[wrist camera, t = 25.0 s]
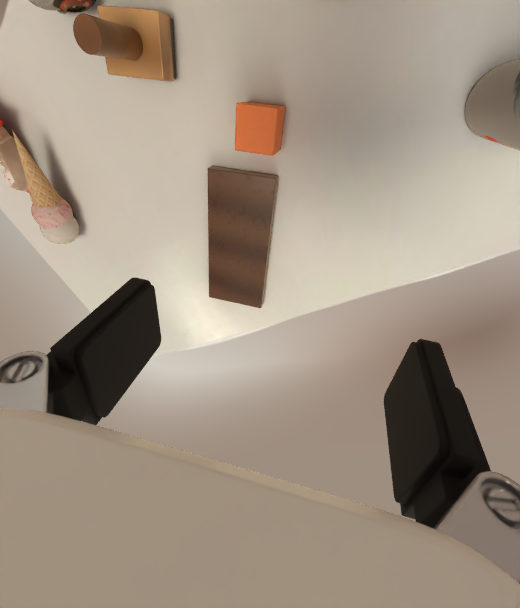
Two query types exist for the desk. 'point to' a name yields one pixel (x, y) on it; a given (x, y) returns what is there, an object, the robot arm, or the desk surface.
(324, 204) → the desk surface
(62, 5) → the helmet
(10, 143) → the figurine
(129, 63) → the brush
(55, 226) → the ice cream cone
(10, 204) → the desk surface
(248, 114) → the orange cube
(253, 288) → the serving board
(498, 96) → the spray bottle
